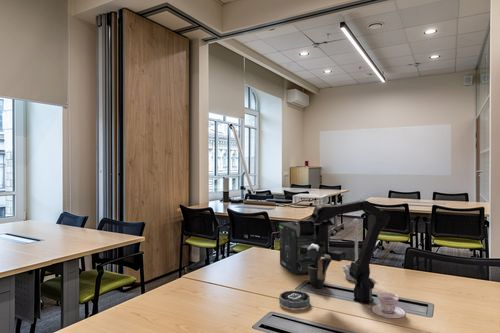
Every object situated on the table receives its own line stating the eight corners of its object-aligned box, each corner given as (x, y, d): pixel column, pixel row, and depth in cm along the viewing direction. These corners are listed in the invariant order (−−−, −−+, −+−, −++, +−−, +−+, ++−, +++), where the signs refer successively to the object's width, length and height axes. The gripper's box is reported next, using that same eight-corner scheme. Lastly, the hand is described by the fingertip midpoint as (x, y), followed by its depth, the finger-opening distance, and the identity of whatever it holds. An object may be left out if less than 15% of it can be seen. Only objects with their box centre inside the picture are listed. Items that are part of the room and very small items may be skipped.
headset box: (279, 263, 196) (278, 219, 196) (297, 261, 200) (297, 217, 199) (295, 275, 174) (295, 225, 174) (316, 273, 178) (316, 224, 178)
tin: (315, 302, 141) (315, 295, 141) (299, 312, 131) (299, 304, 131) (290, 295, 149) (289, 288, 149) (273, 304, 139) (273, 297, 139)
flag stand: (374, 282, 164) (373, 220, 164) (347, 282, 164) (346, 220, 164) (365, 273, 177) (365, 216, 177) (340, 273, 177) (340, 216, 177)
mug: (310, 292, 152) (310, 271, 152) (307, 283, 164) (307, 263, 164) (329, 292, 152) (329, 271, 152) (324, 283, 164) (324, 263, 163)
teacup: (378, 303, 140) (378, 288, 140) (409, 310, 133) (408, 295, 133) (367, 313, 131) (367, 297, 131) (400, 322, 123) (400, 305, 123)
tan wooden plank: (325, 277, 141) (325, 258, 141) (322, 279, 139) (322, 260, 139) (321, 276, 142) (321, 258, 142) (317, 278, 140) (317, 259, 140)
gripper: (292, 236, 140) (292, 273, 140) (334, 242, 128) (333, 283, 128) (305, 231, 149) (305, 267, 149) (346, 237, 137) (346, 276, 137)
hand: (321, 273), depth 140 cm, fingers closed on tan wooden plank, 2 cm apart
